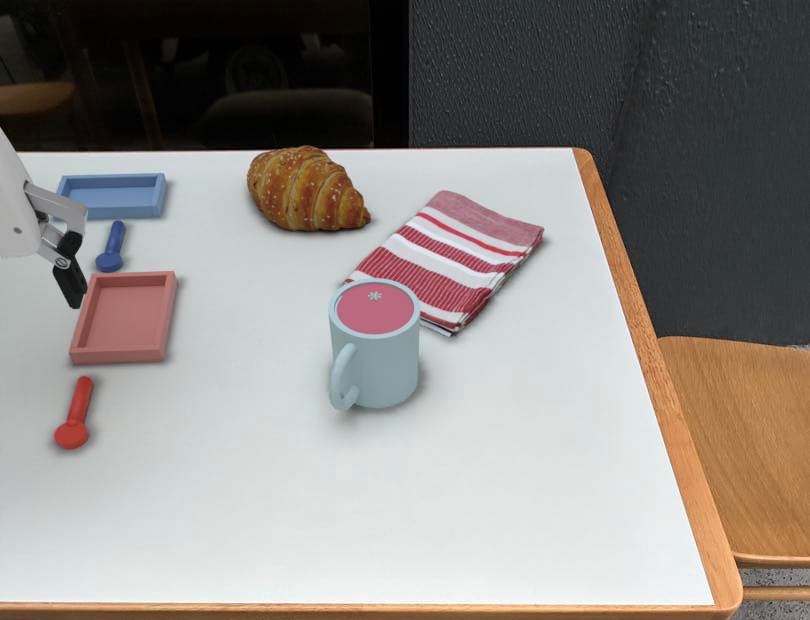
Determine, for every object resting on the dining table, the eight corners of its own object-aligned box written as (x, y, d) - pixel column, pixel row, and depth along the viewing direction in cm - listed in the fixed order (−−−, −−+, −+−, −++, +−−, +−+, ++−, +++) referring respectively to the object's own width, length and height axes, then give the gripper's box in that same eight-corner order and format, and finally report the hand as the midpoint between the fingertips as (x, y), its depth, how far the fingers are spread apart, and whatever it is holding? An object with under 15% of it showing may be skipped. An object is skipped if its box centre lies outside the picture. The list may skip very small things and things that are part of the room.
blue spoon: (109, 229, 90) (105, 218, 88) (133, 228, 90) (129, 217, 88) (96, 275, 84) (91, 264, 83) (122, 274, 84) (117, 263, 83)
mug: (361, 342, 78) (356, 268, 70) (431, 368, 76) (435, 295, 68) (298, 419, 72) (285, 348, 63) (373, 450, 70) (370, 381, 61)
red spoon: (74, 383, 74) (68, 373, 73) (103, 382, 74) (98, 372, 73) (55, 452, 69) (49, 442, 68) (87, 451, 69) (81, 441, 68)
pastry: (387, 212, 92) (386, 153, 85) (327, 258, 87) (321, 199, 80) (277, 163, 99) (268, 104, 92) (214, 203, 93) (200, 144, 86)
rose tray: (164, 363, 76) (159, 349, 74) (75, 367, 76) (68, 352, 74) (178, 285, 84) (174, 270, 82) (97, 287, 83) (91, 273, 81)
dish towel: (545, 242, 89) (549, 224, 87) (455, 343, 78) (456, 324, 76) (438, 201, 94) (439, 183, 91) (339, 291, 83) (338, 272, 81)
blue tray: (56, 223, 90) (49, 208, 88) (68, 189, 94) (62, 175, 93) (160, 220, 91) (156, 205, 89) (168, 187, 95) (163, 172, 93)
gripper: (-257, 121, 43) (-89, 334, 57) (18, 112, 43) (115, 325, 58) (-208, 67, 47) (-62, 279, 61) (43, 60, 47) (128, 271, 62)
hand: (24, 301), depth 59 cm, fingers open, 9 cm apart
